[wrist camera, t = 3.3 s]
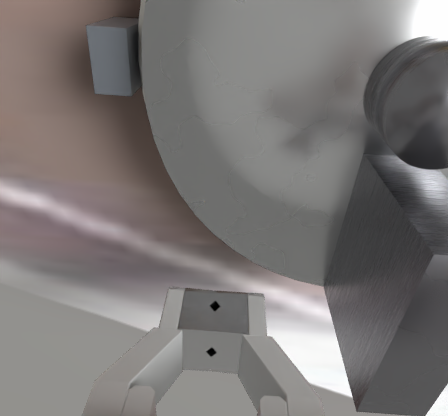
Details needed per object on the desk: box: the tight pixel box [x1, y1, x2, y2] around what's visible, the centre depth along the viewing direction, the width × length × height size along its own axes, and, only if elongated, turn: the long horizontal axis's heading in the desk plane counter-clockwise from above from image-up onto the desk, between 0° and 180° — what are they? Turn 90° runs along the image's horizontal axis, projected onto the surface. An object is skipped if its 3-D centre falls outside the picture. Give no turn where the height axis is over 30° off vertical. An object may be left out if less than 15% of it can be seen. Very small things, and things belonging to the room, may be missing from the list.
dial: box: [142, 0, 448, 416], centre depth 9 cm, size 16×16×6 cm
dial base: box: [86, 0, 146, 100], centre depth 12 cm, size 17×18×3 cm
